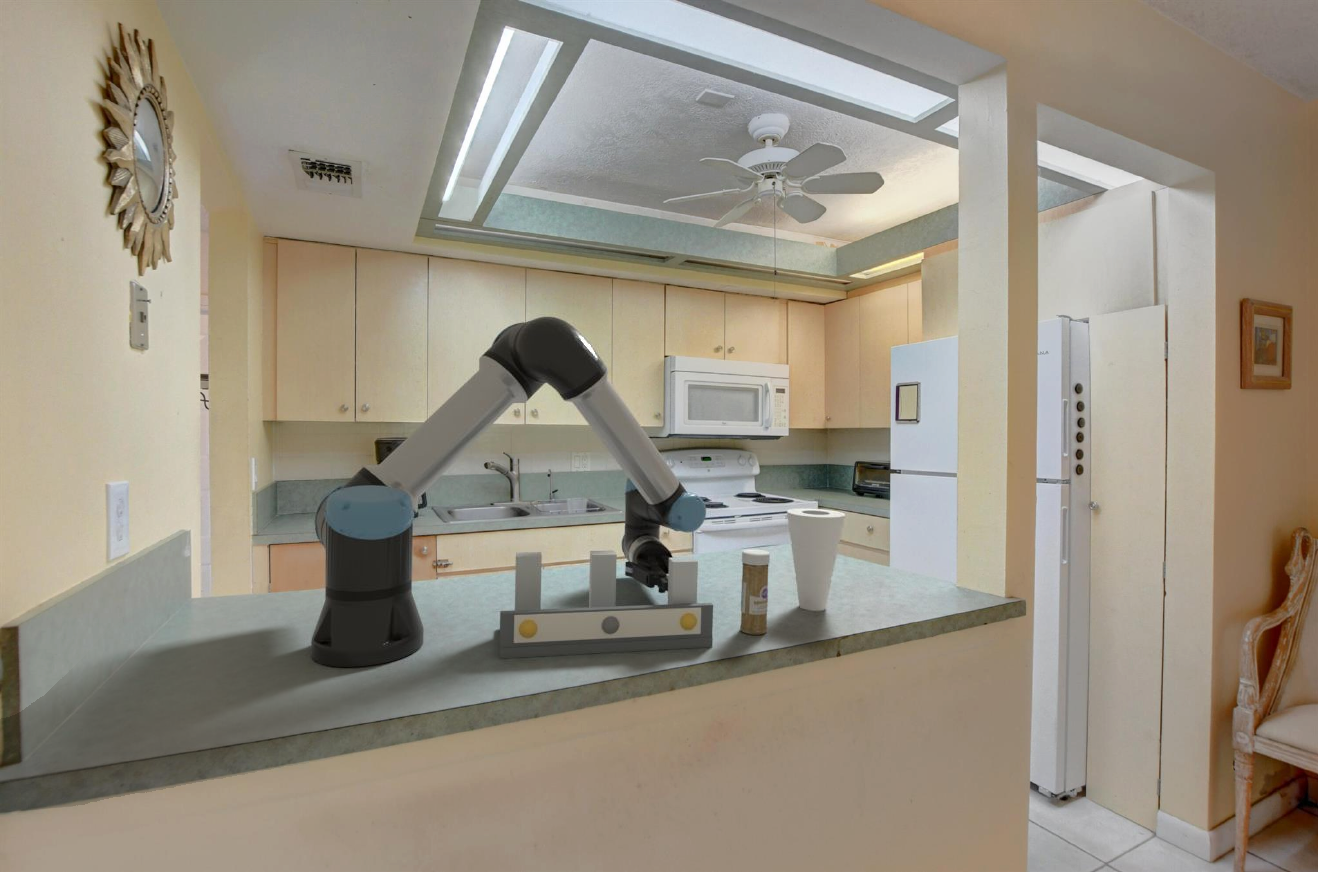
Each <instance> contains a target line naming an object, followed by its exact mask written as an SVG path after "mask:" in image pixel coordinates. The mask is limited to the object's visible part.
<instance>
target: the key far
mask: <svg viewBox="0 0 1318 872" xmlns="http://www.w3.org/2000/svg"><path fill="white" fill-rule="evenodd" d="M698 565H699V561H698V560H697V559H695V558H694V557H693V556H690V557H689V556H688V557H687V556H686V557H673V558H669V570H668V592H667V604H690V603H698V571H699V566H698Z"/></svg>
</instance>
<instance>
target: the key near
mask: <svg viewBox="0 0 1318 872" xmlns="http://www.w3.org/2000/svg"><path fill="white" fill-rule="evenodd" d="M542 565H543V563H542V552H541V551H537V552H536V551H534V552H533V551H529V552H527V551H526V552H525V551H524V552H523V551H522V552H521V551H520V552H519V551H518V552H515V573H514V574H515V577H514V578H515V579H514V580H515V582H514V583H515V584H514V585H515V586H514V587H515V588H514V610H538V609H542V607H541V604H542V598H541V597H542Z"/></svg>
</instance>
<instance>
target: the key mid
mask: <svg viewBox="0 0 1318 872" xmlns="http://www.w3.org/2000/svg"><path fill="white" fill-rule="evenodd" d="M617 557H618V556H617V553H616V551H615V550H590V551H589V586H588V587H589V589H588V608H589V607H614V606H616V600H617V599H616V597H617V596H616V594H617V591H616V590H617Z"/></svg>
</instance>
